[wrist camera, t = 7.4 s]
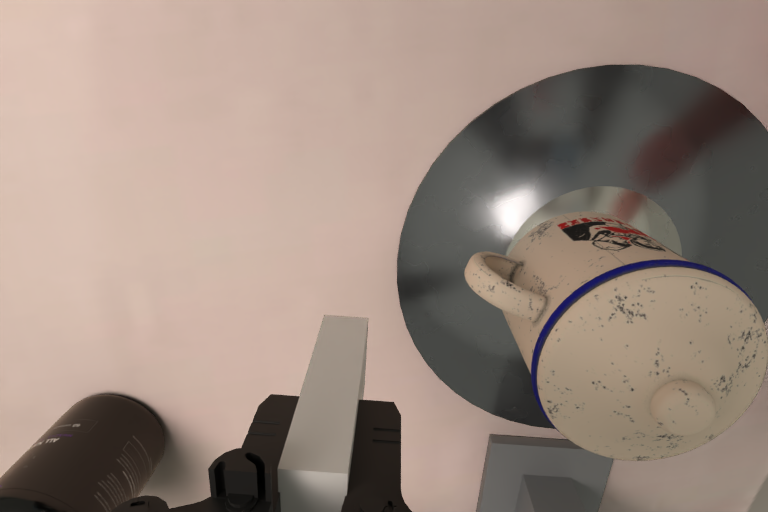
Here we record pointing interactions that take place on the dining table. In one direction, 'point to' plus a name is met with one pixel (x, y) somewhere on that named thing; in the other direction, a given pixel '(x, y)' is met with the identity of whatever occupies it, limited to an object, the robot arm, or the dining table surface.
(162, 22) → the dining table surface
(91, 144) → the dining table surface
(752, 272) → the turntable platter
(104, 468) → the supplement bottle
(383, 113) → the dining table surface
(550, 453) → the gauge post
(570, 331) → the teacup with lid
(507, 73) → the dining table surface
